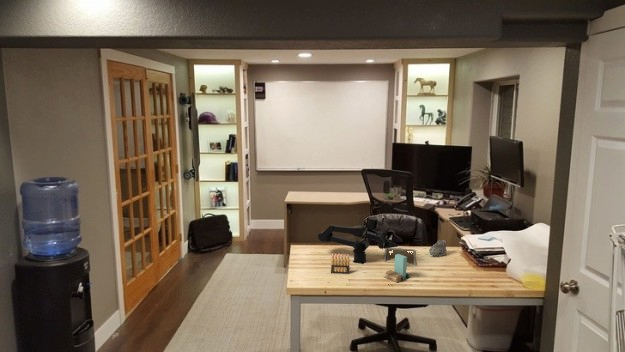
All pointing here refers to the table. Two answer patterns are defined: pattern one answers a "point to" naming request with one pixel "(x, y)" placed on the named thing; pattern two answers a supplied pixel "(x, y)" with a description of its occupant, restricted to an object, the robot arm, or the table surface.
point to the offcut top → (394, 274)
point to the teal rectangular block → (400, 264)
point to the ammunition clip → (339, 267)
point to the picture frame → (402, 252)
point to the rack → (403, 278)
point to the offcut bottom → (393, 279)
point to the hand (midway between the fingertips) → (400, 243)
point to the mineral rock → (438, 248)
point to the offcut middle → (392, 276)
